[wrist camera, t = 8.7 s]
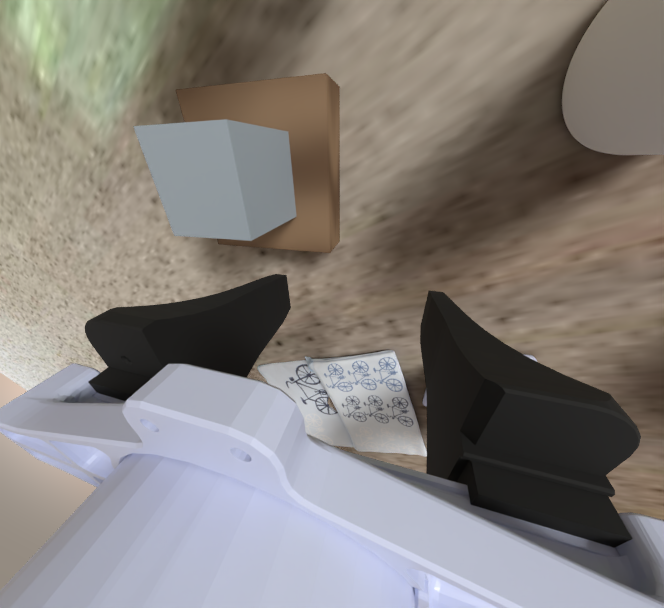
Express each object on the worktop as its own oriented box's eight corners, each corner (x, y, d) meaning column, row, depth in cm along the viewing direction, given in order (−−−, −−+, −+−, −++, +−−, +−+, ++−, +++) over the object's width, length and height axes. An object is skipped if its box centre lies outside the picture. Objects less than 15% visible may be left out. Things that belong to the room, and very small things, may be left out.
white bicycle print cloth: (428, 447, 33) (429, 463, 31) (305, 437, 41) (300, 450, 39) (398, 342, 25) (397, 356, 23) (252, 356, 33) (244, 367, 31)
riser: (339, 241, 20) (330, 252, 18) (239, 234, 23) (218, 244, 20) (339, 86, 15) (325, 73, 13) (208, 98, 17) (175, 89, 15)
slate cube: (296, 216, 17) (251, 240, 12) (237, 214, 18) (174, 235, 13) (288, 131, 14) (226, 119, 10) (219, 135, 16) (133, 126, 11)
